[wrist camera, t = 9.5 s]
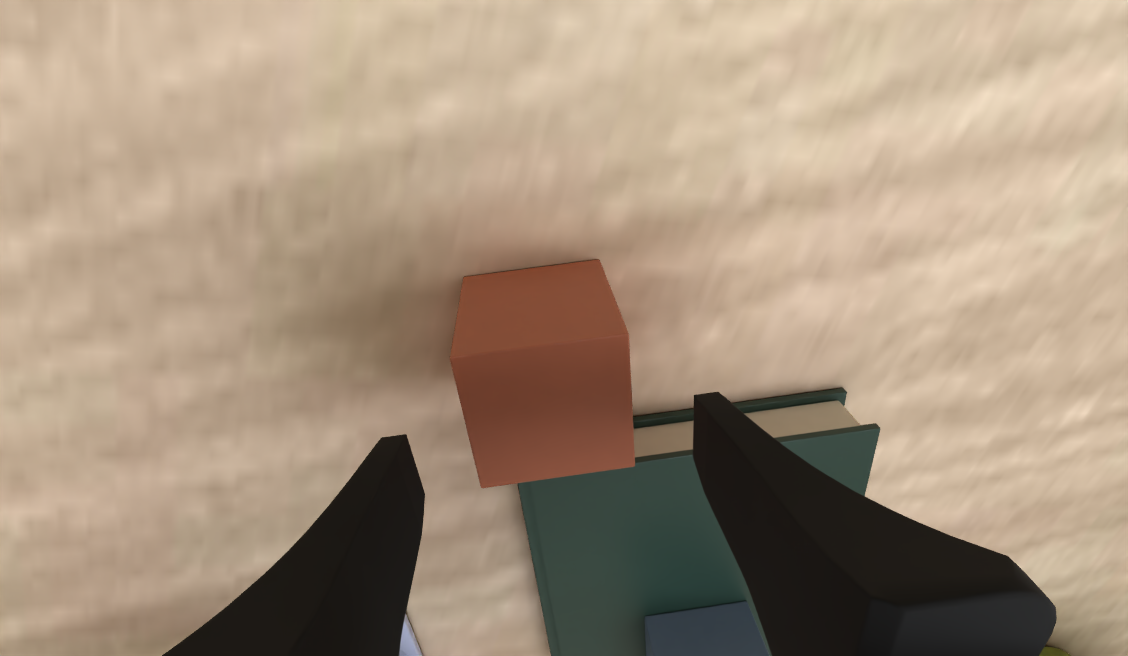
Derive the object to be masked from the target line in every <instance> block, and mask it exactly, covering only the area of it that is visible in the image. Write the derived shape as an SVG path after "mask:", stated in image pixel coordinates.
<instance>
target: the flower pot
mask: <svg viewBox="0 0 1128 656" xmlns="http://www.w3.org/2000/svg"><path fill="white" fill-rule="evenodd" d="M1039 656H1071V655H1070V654H1068V653H1067V652H1065V651H1063V650H1061V649H1058V648H1053V647H1044V648H1043V650H1042V652H1041V653H1040V655H1039Z"/></svg>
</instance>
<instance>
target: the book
mask: <svg viewBox="0 0 1128 656" xmlns="http://www.w3.org/2000/svg"><path fill="white" fill-rule="evenodd" d="M846 394H847V392H846V391H845V389H844V388H839V389H832V390H825V391H817V392H810V393H803V394H796V395H789V396H781V397H774V398H767V399H760V400H753V401H745V402H738V403H732V404H733V405H734V406H736V407H737V408H738V409H739V410H740V411H741V412H743V413H744V414H745V415H746V416H747V417H749V418H750V419H751V420H752V421H753V422H755V423H756V424H757V425H758V426H759V427H761V428H762V429H763V430H764V431H766V432H767V433H768V434H770V435H771V436H772V437H773V438H775V439H776V440H777V441H779V442H780V443H781V444H782V445H784V446H785V447H786V448H788V449H789V450H790V451H792V452H793V453H795V454H796V455H798V456H799V457H801V458H802V459H803V460H805V461H806V462H808V463H809V464H811V465H812V466H814V467H815V468H817V469H818V470H820V471H821V472H823V473H825V474H826V475H828V476H830V477H831V478H833V479H835V480H836V481H838V482H840V483H841V484H843V485H845V486H847V487H848V488H850V489H852V490H853V491H855V492H857V493H859V494H861V495H863V496H865V492H866V488H867V483H868V479H869V475H870V471H871V466H872V462H873V458H874V454H875V449H876V445H877V441H878V437H879V432H880V427H879V426H878V425H877V424H876V423H875V424H868V425H860V424H859V423H858V422H857V421H856V420H855V418H854V417H853V416H852V415H851V414H850V413H849V412H848V411H847V409H846V408H845V407H844V405H845V399H846ZM693 422H694V409H688V410H681V411H674V412H666V413H659V414H652V415H645V416H638V417H633V431H634V451H635V466H634V467H628V468H621V469H614V470H607V471H600V472H593V473H586V474H579V475H572V476H564V477H557V478H550V479H543V480H536V481H529V482H522V483H518V488H519V494H520V499H521V504H522V509H523V514H524V519H525V524H526V529H527V535H528V540H529V545H530V550H531V555H532V560H533V565H534V570H535V576H536V581H537V586H538V591H539V596H540V601H541V606H542V611H543V617H544V622H545V627H546V632H547V637H548V642H549V647H550V652H551V656H646V641H645V620H644V618H645V616H650V615H657V614H663V613H670V612H677V611H683V610H690V609H696V608H703V607H710V606H716V605H723V604H730V603H736V602H743V601H747V603H748V605H749V607H750V610H751V612H752V615H753V617H754V619H755V622H756V624H757V627H758V629H759V631H760V634H761V636H762V639H763V641H764V643H765V646H766V648H767V651H768V653H769V655H770V656H772V655H771V652H770V649H769V646H768V643H767V640H766V637H765V634H764V631H763V628H762V625H761V622H760V620H759V617H758V614H757V611H756V608H755V605H754V603H753V600H752V597H751V594H750V591H749V589H748V586H747V584H746V582H745V579H744V577H743V575H742V572H741V570H740V568H739V566H738V564H737V562H736V559H735V557H734V555H733V553H732V551H731V549H730V547H729V545H728V542H727V540H726V538H725V536H724V534H723V532H722V530H721V528H720V526H719V523H718V521H717V519H716V517H715V515H714V513H713V511H712V508H711V506H710V504H709V502H708V500H707V498H706V495H705V493H704V490H703V487H702V484H701V481H700V478H699V475H698V472H697V469H696V466H695V462H694V459H693Z"/></svg>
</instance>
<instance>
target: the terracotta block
mask: <svg viewBox="0 0 1128 656" xmlns="http://www.w3.org/2000/svg"><path fill="white" fill-rule="evenodd" d="M450 361H451V366H452V370H453V374H454V378H455V382H456V386H457V390H458V395H459V399H460V403H461V407H462V411H463V415H464V419H465V424H466V428H467V432H468V436H469V440H470V444H471V448H472V453H473V457H474V461H475V465H476V469H477V473H478V477H479V482H480V486H481V488H487V487H494V486H501V485H508V484H515V483H522V482H529V481H536V480H543V479H550V478H557V477H564V476H572V475H579V474H586V473H593V472H600V471H607V470H614V469H621V468H628V467H634V466H635V451H634V431H633V410H632V390H631V370H630V349H629V334H628V331H627V329H626V326H625V323H624V321H623V318H622V316H621V313H620V311H619V308H618V306H617V303H616V301H615V298H614V296H613V293H612V290H611V288H610V285H609V283H608V280H607V278H606V275H605V273H604V270H603V268H602V265H601V263H600V260H591V261H583V262H575V263H568V264H560V265H552V266H544V267H537V268H529V269H521V270H514V271H506V272H498V273H491V274H483V275H475V276H467V277H464V278H463V283H462V289H461V295H460V301H459V307H458V313H457V318H456V324H455V330H454V336H453V342H452V348H451V354H450Z"/></svg>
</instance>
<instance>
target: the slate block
mask: <svg viewBox="0 0 1128 656" xmlns="http://www.w3.org/2000/svg"><path fill="white" fill-rule="evenodd" d="M644 620H645V641H646V656H770V655H769V653H768V651H767V648H766V646H765V643H764V641H763V639H762V636H761V634H760V631H759V629H758V627H757V624H756V622H755V619H754V617H753V615H752V612H751V610H750V607H749V605H748V603H747V601H743V602H736V603H730V604H723V605H716V606H710V607H703V608H696V609H690V610H683V611H677V612H670V613H663V614H657V615H650V616H645V618H644Z"/></svg>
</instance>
